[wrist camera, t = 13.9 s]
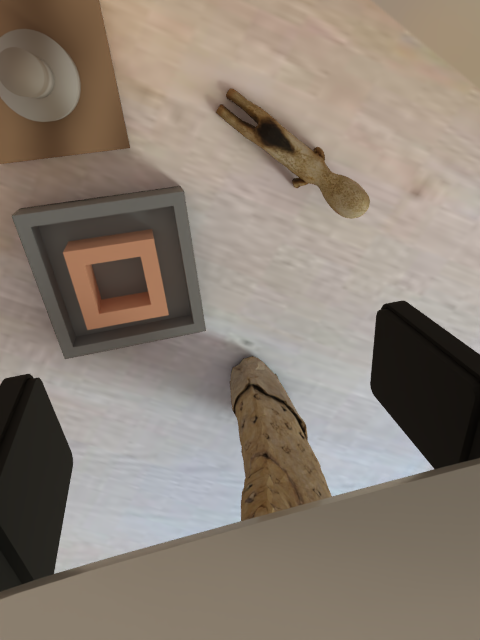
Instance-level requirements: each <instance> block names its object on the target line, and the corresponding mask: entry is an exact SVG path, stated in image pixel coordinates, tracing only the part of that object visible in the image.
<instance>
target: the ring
mask: <svg viewBox="0 0 480 640" xmlns="http://www.w3.org/2000/svg"><path fill="white" fill-rule="evenodd" d="M63 254H64V257H65V261H66V264H67V267H68V270H69V273H70V276H71V280H72V283H73V286H74V289H75V292H76V295H77V299H78V302H79V305H80V308H81V311H82V314H83V318H84V321H85V324H86V327H87V330H91V329H96V328H102V327H107V326H113V325H118V324H123V323H129V322H134V321H140V320H145V319H150V318H156V317H161V316H167V315H169V313H168V308H167V302H166V297H165V292H164V287H163V282H162V276H161V271H160V266H159V261H158V256H157V251H156V246H155V241H154V236H153V231H152V229H149V230H142V231H135V232H129V233H122V234H115V235H109V236H102V237H95V238H88V239H82V240H75V241H68V243H67V245H66V247H65V249H64V251H63ZM134 257H141V260H142V265H143V270H144V274H145V279H146V283H147V288H148V292H142V293H137V294H131V295H125V296H120V297H114V298H108V299H101V296H100V292H99V289H98V285H97V282H96V278H95V275H94V271H93V268H92V264H97V263H103V262H109V261H116V260H122V259H128V258H134Z"/></svg>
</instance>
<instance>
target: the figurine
mask: <svg viewBox="0 0 480 640" xmlns="http://www.w3.org/2000/svg"><path fill="white" fill-rule="evenodd" d="M226 97H227V98H228V99H229V100H231V101H232V102H234V103H235V104H236V105H238V106H239V107H240V108H242V109H243V110H244V111H245V112H246V113H247V114H248V115H249V116H250V117H251V118H252V119H253V120H254V121H255V122H256V123H257V124H258V125H257V126H256V127H255V126H253V125H251V124H249V123H247V122H245V121H243V120H242V119H240V118H238V117H237V116H236V115H234V114H233V113H232V112H231V111H229V110H228V109H227V108H226V107H224V106H223V105H220V106H219V107H218V109H217V111H216V113H217V114H218V115H219V116H220V117H222V118H223V119H224V120H225V121H226V122H227V123H229V124H230V125H231V126H232V127H233V128H234V129H236V130H237V131H238V132H240V133H241V134H242V135H243V136H244V137H246V138H247V139H249V140H251V141H252V142H254V143H255V144H257V145H258V146H260V147H261V148H263V149H264V150H265V151H267V152H268V153H269V154H270V155H271V156H272V157H273V158H275V159H276V160H277V161H279V162H280V163H281V164H283V165H284V166H285V167H287V168H288V169H289V170H290V171H291V172H292V173H294V174H295V175H297V176H298V177H299V178H294V179H293V180H292V183H293V186H294V187H295V188H298V187H300V186H303V185H306V184H308V183H310V184H314V185H317V186H318V187H319V188H320V190H321V192H322V194H323V196H324V198H325V200H326V201H327V203H328V204H329V205H330V207H331V208H332V209H333V210H334V211H335V212H336V213H338V214H339V215H341V216H343V217H345V218H358V217H360V216H362V215H363V214H364V213H365V212H366V211H367V209H368V207H369V203H370V199H369V196H368V195H367V193H366V192H365V191H364V189H363V188H362V187H361V186H360V185H359V184H358V183H356V182H355V181H353V180H351V179H350V178H348V177H345V176H342V175H338V174H335V173H332V172H331V171H330V169H329V168H328V167H327V166H326V164H325V162H324V160H325V155H324V152H323V150H322V149H321V148H319V147H316V148H315V149H314V152H313V151H312V150H311V149H310V148H309V147H307V146H306V145H305V144H303V143H302V142H301V141H299V140H298V139H297V138H296V137H294V136H293V135H292V134H291V133H290V132H288V131H287V130H286V129H285V128H283V127H282V126H281V125H280V124H279V123H278V122H277V121H276V120H275V119H274V118H273V117H272V116H270V115H269V114H268V113H267V112H265V111H264V110H263V109H261V108H260V107H258V106H257V105H255V104H253V103H252V102H250V101H248V100H247V99H246V98H244V97H243V96H242V95H241V94H240V93H238V92H237V91H236V90H234V89H229V91H228V92H227V94H226Z"/></svg>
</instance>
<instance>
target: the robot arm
mask: <svg viewBox="0 0 480 640" xmlns="http://www.w3.org/2000/svg"><path fill="white" fill-rule="evenodd" d="M370 385H371V390H372V393H373V394H374V396H375V397H376V398H377V400H378V401H379V402H380V403H381V405H382V406H383V407H384V408H385V409H386V411H387V412H388V413H389V414H390V415H391V417H392V418H393V419H394V420H395V422H396V423H397V424H398V425H399V426H400V428H401V429H402V430H403V431H404V432H405V434H406V435H407V436H408V437H409V439H410V440H411V441H412V442H413V443H414V445H415V446H416V447H417V448H418V449H419V451H420V452H421V453H422V454H423V455H424V457H425V458H426V459H427V460H428V462H429V463H430V464H431V465H432V466H433V468H434V470H430V471H427V472H423V473H419V474H415V475H412V476H408V477H404V478H400V479H396V480H393V481H389V482H385V483H381V484H378V485H374V486H370V487H366V488H362V489H359V490H355V491H351V492H347V493H344V494H340V495H336V496H333V497H329V498H325V499H321V500H318V501H314V502H310V503H307V504H303V505H299V506H296V507H292V508H288V509H284V510H281V511H277V512H273V513H270V514H266V515H262V516H259V517H255V518H251V519H248V520H244V521H240V522H237V523H233V524H229V525H226V526H222V527H218V528H215V529H211V530H208V531H204V532H200V533H197V534H193V535H190V536H186V537H182V538H179V539H175V540H171V541H168V542H164V543H161V544H157V545H153V546H150V547H146V548H143V549H139V550H135V551H132V552H128V553H125V554H121V555H117V556H114V557H111V558H107V559H104V560H100V561H97V562H94V563H90V564H87V565H83V566H80V567H77V568H73V569H70V570H66V571H63V572H59V573H56V574H54V569H55V564H56V558H57V552H58V547H59V541H60V535H61V530H62V524H63V518H64V513H65V507H66V501H67V496H68V490H69V484H70V479H71V473H72V467H73V457H72V453H71V450H70V447H69V445H68V443H67V440H66V438H65V435H64V433H63V431H62V428H61V426H60V423H59V421H58V419H57V416H56V414H55V411H54V409H53V407H52V404H51V402H50V399H49V397H48V395H47V392H46V390H45V387H44V385H43V383H42V381H41V379H40V378H33V377H32V376H31V375H30V374H25V375H20V376H15V377H10V378H6V379H4V380H3V381H2V383H1V385H0V640H480V354H478V353H477V352H475V351H474V350H473V349H471V348H470V347H468V346H467V345H466V344H464V343H463V342H461V341H460V340H459V339H457V338H456V337H455V336H453V335H452V334H450V333H449V332H448V331H446V330H445V329H443V328H442V327H441V326H439V325H438V324H437V323H435V322H434V321H432V320H431V319H430V318H428V317H427V316H425V315H424V314H423V313H421V312H420V311H419V310H417V309H416V308H414V307H413V306H412V305H410V304H409V303H407V302H406V301H398V302H393V303H388V304H384V305H383V306H382V308H381V310H379V311H378V312H377V315H376V326H375V337H374V348H373V360H372V371H371V382H370Z"/></svg>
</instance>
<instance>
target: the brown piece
mask: <svg viewBox="0 0 480 640" xmlns="http://www.w3.org/2000/svg"><path fill="white" fill-rule="evenodd" d="M125 148H130V145H129V141H128V136H127V131H126V126H125V122H124V117H123V112H122V107H121V103H120V98H119V93H118V88H117V84H116V79H115V74H114V69H113V65H112V60H111V55H110V50H109V46H108V41H107V36H106V32H105V27H104V22H103V17H102V13H101V8H100V3H99V0H0V164H4V163H12V162H20V161H28V160H36V159H44V158H52V157H60V156H69V155H77V154H85V153H93V152H101V151H109V150H117V149H125Z"/></svg>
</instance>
